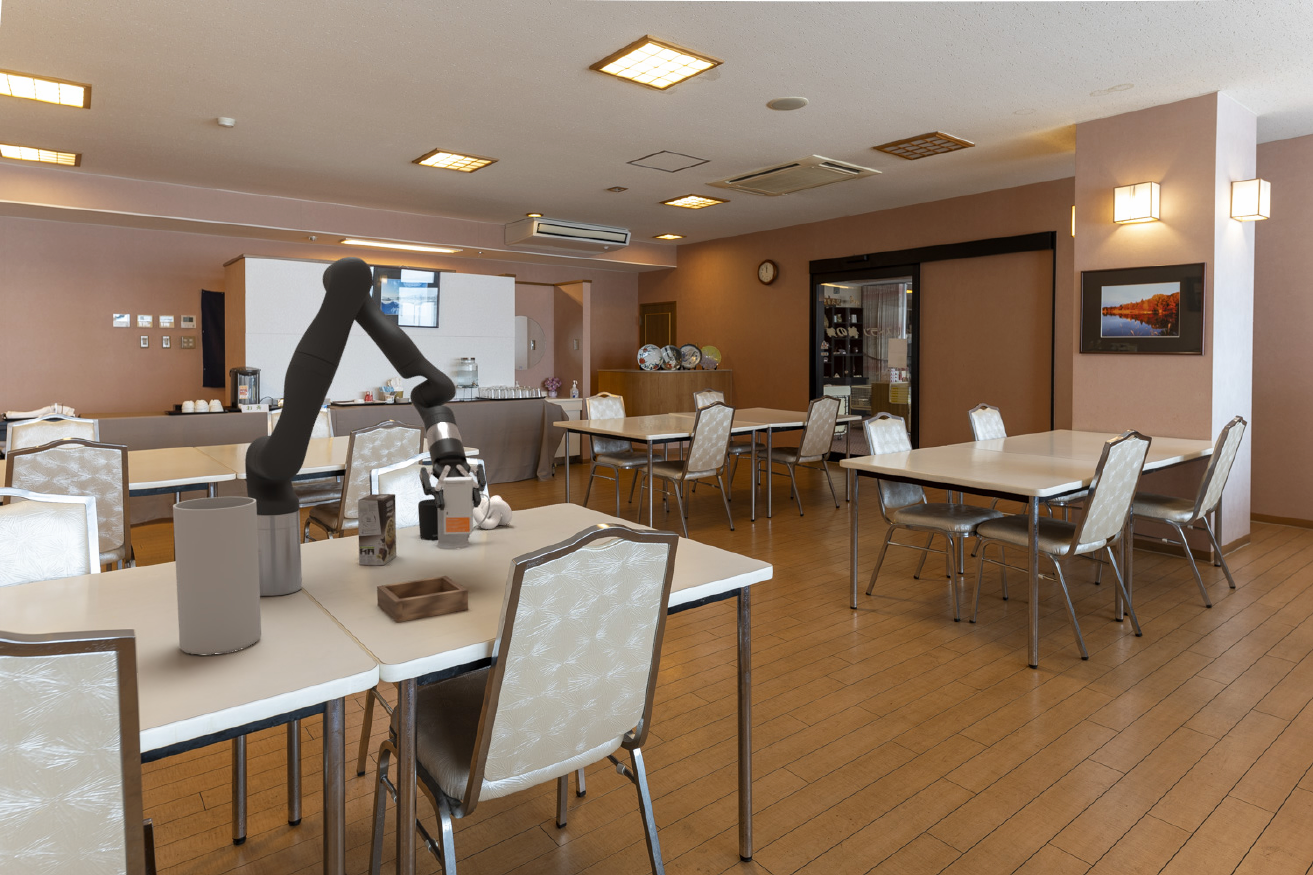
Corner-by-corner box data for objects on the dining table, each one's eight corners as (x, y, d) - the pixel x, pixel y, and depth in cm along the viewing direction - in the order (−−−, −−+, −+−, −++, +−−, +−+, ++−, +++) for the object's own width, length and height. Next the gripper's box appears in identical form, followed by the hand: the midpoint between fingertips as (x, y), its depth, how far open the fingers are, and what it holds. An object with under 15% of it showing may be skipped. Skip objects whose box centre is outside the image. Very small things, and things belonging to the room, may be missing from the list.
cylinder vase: (273, 631, 144) (268, 496, 142) (240, 657, 132) (234, 510, 130) (204, 631, 144) (198, 496, 142) (164, 657, 132) (156, 509, 129)
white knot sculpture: (517, 523, 241) (517, 494, 240) (505, 532, 229) (505, 501, 229) (482, 522, 243) (482, 493, 242) (468, 530, 231) (467, 500, 230)
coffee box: (384, 565, 191) (383, 499, 189) (358, 565, 191) (356, 499, 189) (397, 556, 200) (396, 493, 198) (372, 555, 200) (371, 493, 198)
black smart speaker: (412, 539, 219) (411, 503, 218) (429, 532, 228) (429, 498, 227) (442, 541, 216) (442, 505, 215) (459, 534, 225) (458, 499, 224)
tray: (396, 622, 150) (395, 601, 150) (377, 605, 160) (377, 586, 160) (468, 609, 158) (468, 590, 158) (446, 593, 169) (446, 575, 168)
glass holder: (435, 542, 215) (435, 488, 214) (488, 539, 219) (488, 486, 218) (436, 549, 207) (436, 493, 205) (491, 546, 211) (491, 491, 210)
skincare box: (443, 535, 169) (442, 480, 168) (445, 530, 173) (444, 477, 172) (472, 534, 170) (471, 479, 169) (473, 529, 174) (472, 476, 173)
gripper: (415, 438, 172) (428, 499, 163) (480, 435, 179) (496, 494, 170) (411, 459, 178) (423, 519, 169) (474, 455, 184) (489, 513, 175)
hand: (460, 506), depth 169 cm, fingers closed on skincare box, 7 cm apart
